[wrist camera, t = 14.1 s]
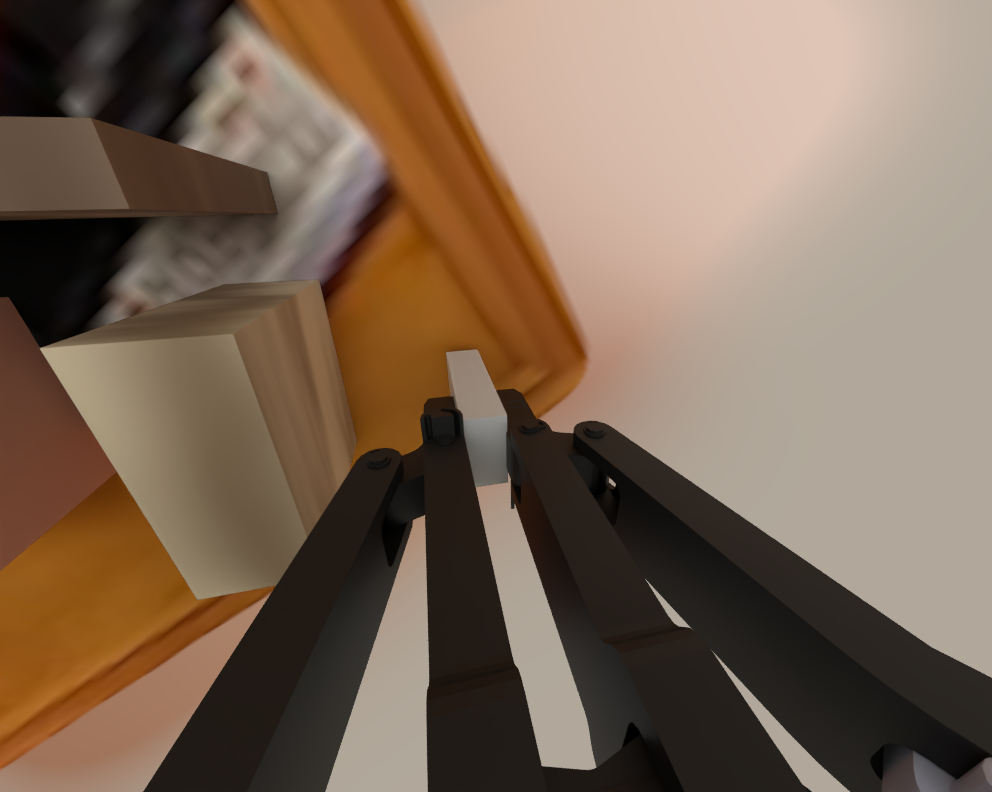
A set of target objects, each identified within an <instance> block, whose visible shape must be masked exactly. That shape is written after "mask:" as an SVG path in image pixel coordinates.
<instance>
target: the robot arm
mask: <svg viewBox="0 0 992 792" xmlns="http://www.w3.org/2000/svg"><path fill="white" fill-rule="evenodd" d="M446 357H447V368H448V379H449V389H450V396H449V397H440V398H431V399H428V400H427V402H426V403H425V404H424V413H423V414H422V415H421V418H420V422H421V429H422V436H423V444H422V445H421V446H420V447H419V448H418V449H417V450H415V451H413V452H411V453H408V454H406V455H403V456H401V455H400V453H399V452H398V451H396V450H394V449H390V448H381V449H375V450H372V451H369V452H367V453H365V454H364V455H362V456H361V457H360V458H359V459H358V460H357V461H356V463H355V464H354V466H353V467H352V469H351V470H350V472H349V474H348V475H347V477H346V478H345V480H344V481H343V483H342V484H341V486H340V487H339V489H338V491H337V492H336V494H335V495H334V497H333V498H332V500H331V501H330V503H329V505H328V506H327V508H326V509H325V511H324V512H323V514H322V515H321V517H320V518H319V520H318V522H317V523H316V525H315V526H314V528H313V529H312V531H311V532H310V534H309V536H308V537H307V539H306V540H305V542H304V543H303V545H302V546H301V548H300V549H299V551H298V553H297V554H296V556H295V557H294V559H293V560H292V562H291V563H290V565H289V567H288V568H287V570H286V571H285V573H284V574H283V576H282V577H281V579H280V581H279V582H278V584H277V585H276V587H275V588H274V590H273V591H272V593H271V594H270V596H269V598H268V599H267V601H266V602H265V604H264V605H263V607H262V608H261V610H260V612H259V613H258V615H257V616H256V618H255V619H254V621H253V622H252V624H251V625H250V627H249V629H248V630H247V632H246V633H245V635H244V637H243V638H242V639H241V641H240V643H239V644H238V646H237V647H236V649H235V650H234V652H233V654H232V655H231V657H230V658H229V660H228V661H227V663H226V664H225V666H224V667H223V669H222V671H221V672H220V674H219V675H218V677H217V678H216V680H215V681H214V683H213V685H212V686H211V688H210V689H209V691H208V692H207V694H206V695H205V697H204V698H203V700H202V701H201V703H200V705H199V706H198V708H197V709H196V711H195V712H194V714H193V715H192V717H191V719H190V720H189V722H188V723H187V725H186V726H185V728H184V729H183V731H182V733H181V734H180V736H179V737H178V739H177V740H176V742H175V743H174V745H173V747H172V748H171V750H170V751H169V753H168V754H167V756H166V757H165V759H164V760H163V762H162V764H161V765H160V767H159V768H158V770H157V771H156V773H155V775H154V776H153V778H152V779H151V781H150V782H149V784H148V785H147V787H146V788H145V790H144V791H143V792H325V790H326V788H327V784H328V782H329V779H330V776H331V772H332V769H333V766H334V763H335V760H336V757H337V754H338V751H339V748H340V745H341V742H342V739H343V736H344V733H345V730H346V726H347V724H348V721H349V718H350V715H351V712H352V709H353V705H354V702H355V699H356V696H357V693H358V690H359V687H360V684H361V681H362V678H363V675H364V672H365V669H366V666H367V663H368V660H369V657H370V654H371V651H372V648H373V644H374V641H375V639H376V636H377V632H378V629H379V626H380V623H381V620H382V617H383V614H384V611H385V608H386V605H387V602H388V599H389V596H390V593H391V590H392V587H393V584H394V580H395V577H396V574H397V571H398V569H399V566H400V562H401V559H402V556H403V553H404V550H405V547H406V544H407V541H408V538H409V535H410V531H411V528H412V524H413V520H414V519H416V518H419V517H421V516H424V515H425V527H426V564H427V565H426V566H427V604H428V637H429V638H428V639H429V640H428V641H429V687H428V689H427V766H428V767H427V770H428V792H811V791H810V790H809V789H808V788H806V787H805V786H804V785H802V783H801V782H800V780H799V779H798V777H797V776H796V775H795V773H794V772H793V770H792V769H791V767H790V766H789V764H788V763H787V761H786V760H785V758H784V757H783V755H782V754H781V752H780V751H779V749H778V748H777V746H776V745H775V744H774V742H773V741H772V739H771V738H770V736H769V735H768V733H767V732H766V730H765V729H764V727H763V726H762V724H761V723H760V721H759V720H758V718H757V717H756V715H755V714H754V713H753V711H752V710H751V708H750V707H749V705H748V704H747V702H746V701H745V699H744V698H743V696H742V695H741V693H740V692H739V690H738V689H737V687H736V686H735V684H734V683H733V682H732V680H731V679H730V677H729V676H728V674H727V673H726V671H725V670H724V668H723V667H722V665H721V664H720V662H719V661H718V659H717V658H716V656H715V655H714V653H715V654H716V655H717V656H718V657H719V658H720V659H721V661H722V662H723V663H724V664H725V665H726V666H727V667H728V668H729V669H730V670H731V671H732V672H733V673H734V675H735V676H736V677H737V678H738V679H739V680H740V681H741V682H742V683H743V684H744V685H745V686H746V687H747V689H748V690H749V691H750V692H751V693H752V694H753V695H754V696H755V697H756V698H757V699H758V700H759V701H760V702H761V704H763V706H764V707H765V708H766V709H767V710H768V711H769V712H770V713H771V714H772V715H773V717H775V719H776V720H777V721H778V722H779V723H780V724H781V725H782V726H783V727H784V728H785V729H786V731H788V733H789V734H791V736H792V737H793V738H794V739H795V740H796V741H797V742H798V743H799V744H800V745H801V746H802V747H803V748H804V749H805V750H806V751H807V752H808V753H809V754H810V755H811V756H812V757H813V758H814V759H815V760H816V761H817V762H818V763H819V764H820V765H821V766H822V767H824V768H825V769H826V770H827V771H828V772H829V773H830V774H831V775H832V776H833V777H834V778H836V779H837V780H838V781H839V782H840V783H841V784H842V785H843V786H844V787H846V788H847V789H848V790H849V791H850V792H992V678H991V677H989V676H987V675H985V674H983V673H981V672H979V671H977V670H975V669H973V668H971V667H969V666H967V665H965V664H963V663H961V662H959V661H957V660H955V659H953V658H951V657H950V656H948V655H946V654H944V653H941V652H939V651H938V650H936V649H934V648H932V647H930V646H929V645H927V644H926V643H924V642H923V641H922V640H920V639H919V638H917V637H916V636H914V635H913V634H911V633H910V632H908V631H907V630H905V629H904V628H903V627H901V626H900V625H898V624H897V623H895V622H894V621H892V620H891V619H890V618H888V617H887V616H885V615H884V614H882V613H881V612H879V611H878V610H876V609H875V608H874V607H872V606H871V605H869V604H868V603H866V602H865V601H863V600H862V599H861V598H859V597H858V596H856V595H855V594H853V593H852V592H850V591H849V590H847V589H846V588H845V587H843V586H842V585H840V584H839V583H837V582H836V581H834V580H833V579H831V578H830V577H829V576H827V575H826V574H824V573H823V572H821V571H820V570H818V569H817V568H815V567H814V566H812V565H811V564H810V563H808V562H807V561H805V560H804V559H802V558H801V557H800V556H798V555H797V554H795V553H794V552H792V551H791V550H789V549H788V548H786V547H785V546H783V545H782V544H780V543H779V542H778V541H776V540H775V539H773V538H772V537H770V536H769V535H767V534H766V533H764V532H763V531H762V530H760V529H759V528H757V527H756V526H754V525H753V524H752V523H750V522H749V521H747V520H745V519H744V518H743V517H741V516H740V515H738V514H737V513H735V512H734V511H733V510H731V509H730V508H728V507H727V506H725V505H724V504H723V503H721V502H720V501H718V500H717V499H715V498H714V497H712V496H711V495H709V494H708V493H706V492H705V491H704V490H702V489H701V488H699V487H698V486H696V485H695V484H693V483H692V482H691V481H689V480H688V479H686V478H685V477H683V476H682V475H680V474H679V473H677V472H676V471H674V470H673V469H672V468H670V467H669V466H667V465H666V464H664V463H663V462H661V461H660V460H659V459H657V458H656V457H654V456H653V455H651V454H650V453H648V452H647V451H646V450H644V449H642V448H641V447H640V446H638V445H637V444H635V443H634V442H632V441H631V440H629V439H628V438H627V437H625V436H624V435H622V434H621V433H619V432H618V431H616V430H615V429H614V428H612V427H611V426H609V425H607V424H605V423H601V422H598V421H585V422H581V423H579V424H577V425H576V426H575V427H574V433H559V432H554V431H552V430H551V428H550V427H549V425H548V424H547V423H546V422H544V421H542V420H540V419H536V417H535V416H534V414H533V412H532V411H531V409H530V407H529V406H528V404H527V402H526V401H525V399H524V397H523V395H522V394H521V393H520V392H518V391H517V390H515V389H506V390H497V391H496V390H495V387H494V385H493V383H492V381H491V378H490V376H489V374H488V372H487V370H486V367H485V365H484V363H483V361H482V359H481V356H480V354H479V352H478V350H477V349H475V350H464V351H452V352H446ZM508 473H509V475H510V478H511V509H514V503H515V505H516V508H517V511H518V514H519V517H520V520H521V523H522V526H523V529H524V532H525V535H526V537H527V541H528V543H529V546H530V549H531V553H532V555H533V559H534V562H535V565H536V568H537V570H538V573H539V576H540V579H541V582H542V585H543V588H544V591H545V594H546V597H547V600H548V603H549V606H550V609H551V612H552V615H553V618H554V621H555V624H556V627H557V630H558V633H559V636H560V639H561V642H562V645H563V648H564V651H565V654H566V657H567V660H568V663H569V666H570V668H571V672H572V675H573V678H574V681H575V684H576V686H577V690H578V692H579V696H580V699H581V702H582V705H583V708H584V710H585V714H586V717H587V721H588V726H589V731H590V739H591V745H592V751H593V755H594V759H595V763H596V767H597V768H595V769H592V770H579V769H567V768H555V767H543V766H541V761H540V757H539V752H538V748H537V744H536V739H535V735H534V730H533V726H532V721H531V717H530V713H529V708H528V704H527V700H526V695H525V691H524V687H523V683H522V679H521V676H520V673H519V670H518V668H517V667H516V666H515V664H514V661H513V657H512V653H511V648H510V644H509V639H508V634H507V630H506V625H505V621H504V616H503V612H502V607H501V602H500V598H499V593H498V589H497V584H496V579H495V575H494V570H493V566H492V561H491V556H490V552H489V547H488V542H487V538H486V533H485V529H484V525H483V519H482V515H481V510H480V506H479V501H478V496H477V492H476V487H479V486H486V485H493V484H499V483H506V482H508ZM609 478H610V479H612V480H613V481H614V482H615V483H616V486H615V487H614V486H612V485H611V484H610V483H609ZM645 579H646V580H647V581H648V582H649V583H650V584H651V585H652V586H653V587H654V588H655V590H656V591H657V592H658V593H659V594H660V595H661V596H662V597H663V598H664V599H665V600H666V601H667V603H668V604H670V606H671V607H672V608H673V609H674V610H675V611H676V612H677V613H678V614H679V615H680V616H681V617H682V619H683V620H684V621H685V622H686V623H687V624H688V625H689V626H690V627H691V628H692V629H693V630H694V631H693V630H692V629H691V628H687V627H678V626H677V625H676V624H674V623H673V622H672V620H671V619H670V618H669V616H668V615H667V613H666V612H665V610H664V608H663V607H662V605H661V604H660V602H659V601H658V599H657V597H656V596H655V594H654V592H653V591H652V589H651V588H650V586H649V584H648V583H647V581H646V580H645ZM712 651H713V652H714V653H713V652H712Z"/></svg>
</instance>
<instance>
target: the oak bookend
mask: <svg viewBox="0 0 992 792" xmlns="http://www.w3.org/2000/svg"><path fill="white" fill-rule="evenodd" d="M40 350H41V351H42V353H43V355H44V356H45V358H46V359H47V361H48V363H49V364H50V366H51V367H52V369H53V371H54V372H55V374H56V375H57V377H58V379H59V380H60V382H61V383H62V385H63V387H64V388H65V390H66V391H67V393H68V394H69V396H70V398H71V399H72V401H73V402H74V404H75V406H76V407H77V409H78V410H79V412H80V414H81V415H82V417H83V418H84V420H85V422H86V423H87V425H88V426H89V428H90V430H91V431H92V433H93V434H94V436H95V437H96V439H97V441H98V442H99V444H100V445H101V447H102V449H103V450H104V452H105V453H106V455H107V457H108V458H109V460H110V461H111V463H112V465H113V466H114V468H115V469H116V471H117V473H118V474H119V476H120V477H121V479H122V480H123V482H124V484H125V485H126V487H127V488H128V490H129V492H130V493H131V495H132V496H133V498H134V500H135V501H136V503H137V504H138V506H139V508H140V509H141V511H142V512H143V514H144V516H145V517H146V519H147V520H148V522H149V524H150V525H151V527H152V528H153V530H154V531H155V533H156V535H157V536H158V538H159V539H160V541H161V543H162V544H163V546H164V547H165V549H166V551H167V552H168V554H169V555H170V557H171V559H172V560H173V562H174V563H175V565H176V567H177V568H178V570H179V571H180V573H181V574H182V576H183V578H184V579H185V581H186V582H187V584H188V586H189V587H190V589H191V590H192V592H193V594H194V595H195V597H196V598H197V600H200V599H205V598H211V597H216V596H221V595H227V594H232V593H238V592H243V591H249V590H254V589H259V588H265V587H270V586H276V585H277V584H278V582H279V581H280V579H281V577H282V576H283V574H284V573H285V571H286V570H287V568H288V567H289V565H290V563H291V562H292V560H293V559H294V557H295V556H296V554H297V553H298V551H299V549H300V548H301V546H302V545H303V543H304V542H305V540H306V539H307V537H308V536H309V534H310V532H311V531H312V529H313V528H314V526H315V525H316V523H317V522H318V520H319V518H320V517H321V515H322V514H323V512H324V511H325V509H326V508H327V506H328V505H329V503H330V501H331V500H332V498H333V497H334V495H335V494H336V492H337V491H338V489H339V487H340V486H341V484H342V483H343V481H344V480H345V478H346V477H347V475H348V474H349V471H350V467H351V463H352V459H353V455H354V452H355V448H356V444H357V437H356V433H355V429H354V425H353V421H352V416H351V412H350V408H349V404H348V400H347V395H346V391H345V387H344V383H343V379H342V374H341V370H340V366H339V362H338V358H337V353H336V349H335V345H334V341H333V337H332V332H331V328H330V324H329V320H328V316H327V311H326V307H325V303H324V299H323V295H322V290H321V286H320V282H319V279H317V280H298V281H279V282H260V283H242V284H224V285H221V286H218V287H215V288H212V289H209V290H207V291H204V292H201V293H198V294H195V295H192V296H189V297H186V298H183V299H181V300H178V301H175V302H172V303H169V304H166V305H163V306H160V307H157V308H155V309H152V310H149V311H146V312H143V313H140V314H137V315H134V316H132V317H129V318H126V319H123V320H120V321H117V322H114V323H111V324H108V325H106V326H103V327H100V328H97V329H94V330H91V331H88V332H85V333H82V334H80V335H77V336H74V337H71V338H68V339H65V340H62V341H59V342H56V343H54V344H51V345H48V346H45V347H42V348H40Z"/></svg>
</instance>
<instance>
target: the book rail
mask: <svg viewBox="0 0 992 792" xmlns="http://www.w3.org/2000/svg"><path fill="white" fill-rule="evenodd" d="M245 214H278V213H277V209H276V205H275V202H274V198H273V194H272V190H271V187H270V183H269V179H268V175H267V172H264V171H261V170H257V169H254V168H251V167H248V166H244V165H241V164H238V163H235V162H232V161H228V160H225V159H222V158H219V157H215V156H212V155H209V154H206V153H202V152H199V151H196V150H193V149H189V148H186V147H183V146H180V145H177V144H173V143H170V142H167V141H164V140H160V139H157V138H154V137H151V136H147V135H144V134H141V133H138V132H134V131H131V130H128V129H125V128H122V127H118V126H115V125H112V124H109V123H105V122H102V121H99V120H96V119H92V118H60V117H0V220H39V219H80V218H121V217H163V216H204V215H245Z"/></svg>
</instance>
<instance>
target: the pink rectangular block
mask: <svg viewBox="0 0 992 792" xmlns="http://www.w3.org/2000/svg"><path fill="white" fill-rule="evenodd" d="M116 472H117V471H116V470H115V468H114V466H113V465H112V463H111V462H110V460H109V458H108V457H107V455H106V453H105V452H104V450H103V449H102V447H101V445H100V444H99V442H98V441H97V439H96V437H95V436H94V434H93V433H92V431H91V430H90V428H89V426H88V425H87V423H86V422H85V420H84V418H83V417H82V415H81V414H80V412H79V410H78V409H77V407H76V406H75V404H74V402H73V401H72V399H71V398H70V396H69V394H68V393H67V391H66V390H65V388H64V387H63V385H62V383H61V382H60V380H59V379H58V377H57V375H56V374H55V372H54V371H53V369H52V367H51V366H50V364H49V363H48V361H47V359H46V358H45V356H44V355H43V353H42V351H41V350H40V347H39V345H38V344H37V342H36V340H35V339H34V337H33V336H32V334H31V332H30V331H29V329H28V327H27V326H26V324H25V323H24V321H23V319H22V318H21V316H20V315H19V313H18V311H17V310H16V308H15V306H14V305H13V303H12V302H11V300H10V298H9V297H0V571H1V570H2V569H3V568H4V567H5V566H7V565H8V564H9V563H10V562H11V561H12V560H14V559H15V558H16V557H17V556H18V555H20V554H21V553H22V552H23V551H24V550H25V549H27V548H28V547H29V546H30V545H31V544H32V543H34V542H35V541H36V540H37V539H38V538H40V537H41V536H42V535H43V534H44V533H45V532H47V531H48V530H49V529H50V528H51V527H52V526H54V525H55V524H56V523H57V522H58V521H60V520H61V519H62V518H63V517H64V516H65V515H67V514H68V513H69V512H70V511H71V510H72V509H74V508H75V507H76V506H77V505H78V504H80V503H81V502H82V501H83V500H84V499H85V498H87V497H88V496H89V495H90V494H91V493H92V492H94V491H95V490H96V489H97V488H98V487H100V486H101V485H102V484H103V483H104V482H105V481H107V480H108V479H109V478H110V477H111V476H112V475H114V474H115V473H116Z"/></svg>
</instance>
